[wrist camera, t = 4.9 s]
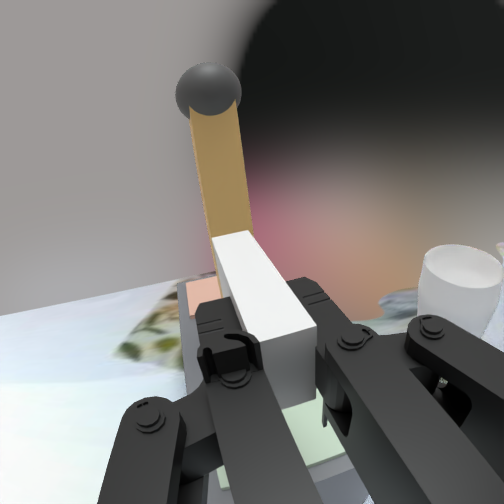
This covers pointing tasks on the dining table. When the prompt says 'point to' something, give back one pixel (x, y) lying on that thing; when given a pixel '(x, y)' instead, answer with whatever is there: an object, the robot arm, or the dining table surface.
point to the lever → (217, 147)
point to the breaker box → (297, 417)
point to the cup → (460, 286)
